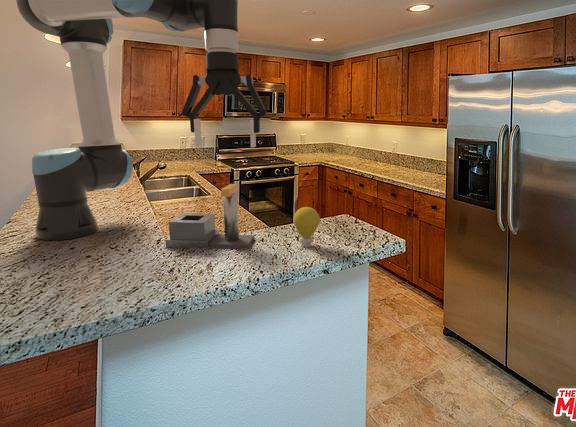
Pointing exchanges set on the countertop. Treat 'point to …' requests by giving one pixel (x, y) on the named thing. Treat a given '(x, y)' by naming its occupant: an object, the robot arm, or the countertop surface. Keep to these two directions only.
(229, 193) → the key
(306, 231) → the light bulb
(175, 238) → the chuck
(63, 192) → the robot arm
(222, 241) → the mat
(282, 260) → the countertop surface
